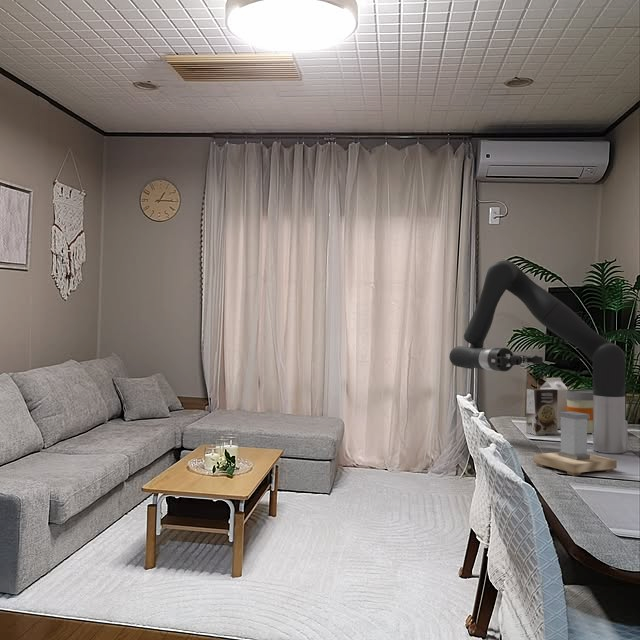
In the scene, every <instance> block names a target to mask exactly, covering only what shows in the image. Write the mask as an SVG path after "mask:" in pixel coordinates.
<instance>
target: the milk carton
mask: <svg viewBox="0 0 640 640" xmlns="http://www.w3.org/2000/svg"><path fill="white" fill-rule="evenodd" d="M539 389H556V390H558V402H557V430H561V417H559V416H558V412H567V407H566V406H567V398H566V390H569V389H568V387H567V386H566V384H565V383H564V381H562V377H547V378H546V381H545V382H544V383H543V384H542V385H541V386H540V387H539Z"/></svg>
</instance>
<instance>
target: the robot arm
mask: <svg viewBox="0 0 640 640" xmlns="http://www.w3.org/2000/svg"><path fill="white" fill-rule="evenodd" d="M506 291H507V292H510V293H511V294H512V295H514V297H516V298H518V299H519V300H520V301H521V302H522V303H523V304H524V305H525V307H526V308H527V310H528V311H529V312H530V313H531V315H532V316H533V317H534V318H535V320H537V321H538V322H539V323H540V324H542V325H543V326H544V327H545V328H546V329H548V330H549V331H550V332H552V333H553V334H555V335H557V336H558V337H560V338H561V339H562V340H564V341H566V342H568V343H569V344H572V346H574V347H575V348H577V349H579V351H580V352H582V353H583V355H585V356H586V357H587V358H588V359H589V360H590V361H591V362H592V390H593V434H592V450H593V451H594V450H595V452H597V451H598V452H599V453H603V454H604V453H605V454H624V453H626V452H628V449H629V448H628V440H629V439H628V424H629V423H628V420H626V367H627V365H626V355H625V352H624V350H623V349H622V348H621V347H620V346H618V345H617V344H615V343H613V342H611V341H610V340H608V339H606V338H604V337H603V335H602V336H601V335H600V334H599V333H597V332H596V331H595V330H593V329H592V328H591V327H590V326H589V325H588V324H587V323H586V322H585V321H584V320H583V319H582V318H581V317H580V316H579V315H578V314H577V313H575V312H574V311H573V310H572V309H571V308H570V307H569V306H567V305H566V304H565V303H564V302H562V300H559V299H558V298H557V297H555V296H554V295H553V294H551V293H550V292H548V291H547V290H546V289H544V288H543V287H542V286H540V285H539V284H537V283H536V282H534V281H533V280H532V279H531V278H530V277H529V276H528V275H527V274H526V273H525V272H524V271H523V270H522V269H520V267H519V266H518V265H517V264H515V262H513V261H510V260H507V259H506V260H500V261H495V262H494V263H492V264H491V265H490V266H489V267H488V269H487V271H486V274H485V278H484V282H483V286H482V290H481V294H480V297H479V300H478V302H477V305H476V307H475V310H474V312H473V314H472V316H471V318H470V320H469V322H468V325H467V327H466V329H465V331H464V334H463V339H464V340H465V342H467V343H469V344H470V347H467V346H460V345H459V346H455V347H453V348H452V349H451V351H450V353H449V361H450V362H451V364H452V365H453V366H455V367H458V368H463V369H468V370H469V369H470V370H472V369H473V370H474V369H479V370H487V371H494V372H508V371H510V370H511V369H512V368H513V367H518V366H519V367H520V366H523V367H524V366H528V365H543V364H544V359H543V356H539V355H528V354H525V353H524V354H521V353H520V354H519V353H513V351H512V350H511V349H510V348H507V347H484V343H485V340H486V337H488V336H487V335H488V334H489V332H490V329H491V327H492V324H493V320H494V317H495V314H496V313H495V312H496V309H497V307H498V304H499V302H500V299H501V298H502V296H503V295H504V293H505V292H506ZM598 452H597V453H598Z"/></svg>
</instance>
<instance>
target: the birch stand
mask: <svg viewBox="0 0 640 640" xmlns="http://www.w3.org/2000/svg"><path fill="white" fill-rule="evenodd" d="M589 454H590V459H583V460H574V459H570V458H566V457H562V456H558V451H556V452H546V453H535V454H533V463H535V465H536V466H537V467H541V468H547V467H550V468H553V469H558V470H560V471H565V472H567V473H566V474H567V475H570V476H573V477H574V476H581V475H582V473H585V472H586V473H587V472H596V471H597V472H598V471H602V472H605V473H606V472H607V473H609V472H610V473H611V472H614V471H615V469H617V466H618V465H617V462H618V461H617V459H613V458H609V457H605V456H600V455H595V454H591V453H589Z"/></svg>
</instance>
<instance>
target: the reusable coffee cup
mask: <svg viewBox="0 0 640 640" xmlns="http://www.w3.org/2000/svg"><path fill="white" fill-rule="evenodd" d="M566 398H567V406H566V407H567V411H572V412H578V413H585V414H590V419H587V433H593V389H575V388H574V389H568V390H566Z"/></svg>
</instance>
